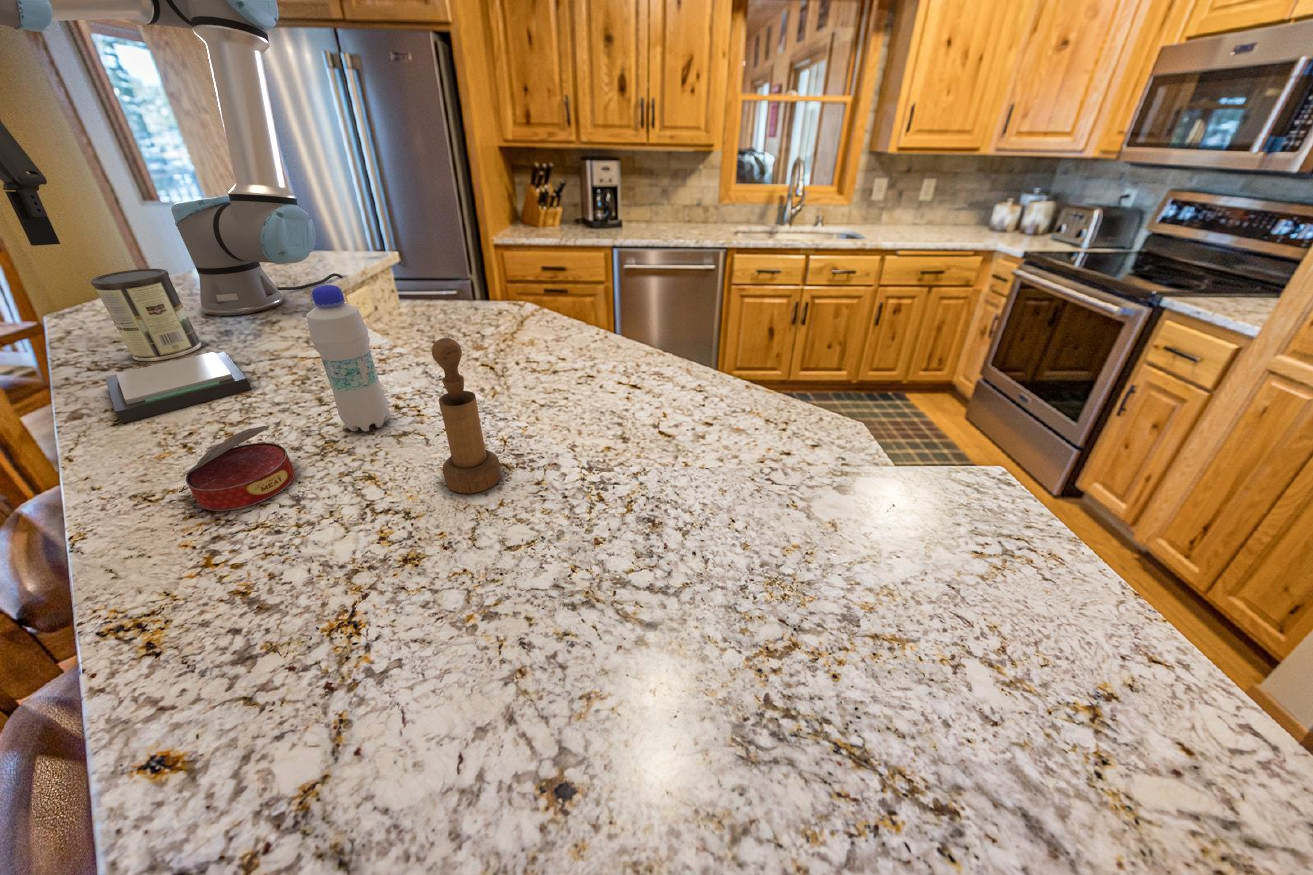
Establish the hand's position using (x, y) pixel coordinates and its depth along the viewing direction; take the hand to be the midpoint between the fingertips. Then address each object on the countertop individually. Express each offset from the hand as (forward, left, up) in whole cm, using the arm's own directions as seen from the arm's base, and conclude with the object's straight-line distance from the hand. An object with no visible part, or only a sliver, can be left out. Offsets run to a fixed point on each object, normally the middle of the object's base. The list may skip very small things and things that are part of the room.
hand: (10, 245), depth 72 cm
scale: (-9, +7, -23) cm, 26 cm away
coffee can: (-10, -15, -23) cm, 29 cm away
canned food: (-10, +45, -23) cm, 51 cm away
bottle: (-26, +40, -23) cm, 53 cm away
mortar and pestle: (-30, +63, -23) cm, 73 cm away
